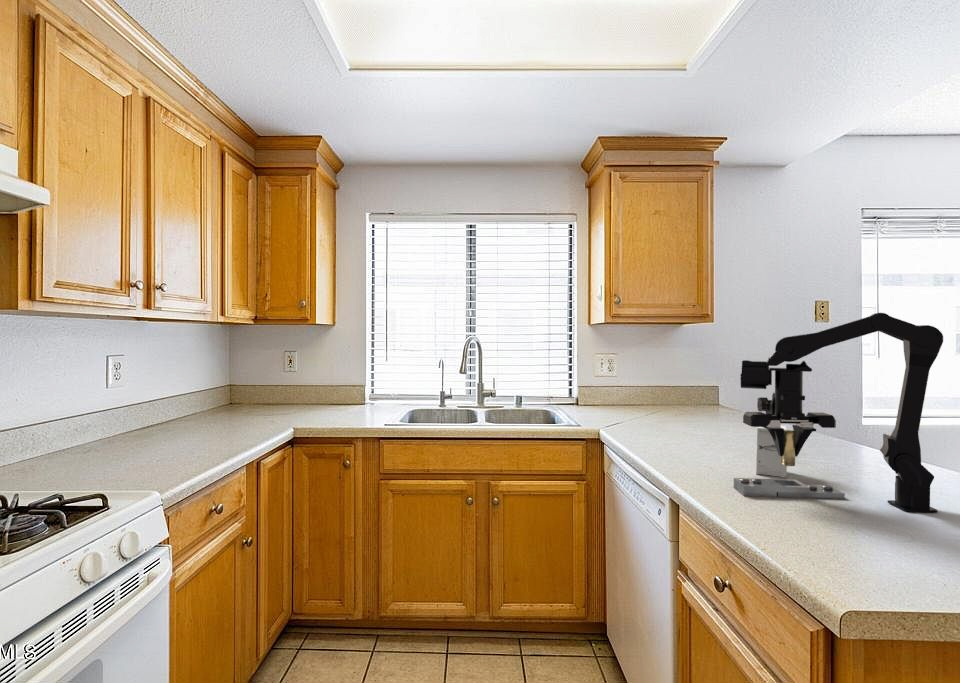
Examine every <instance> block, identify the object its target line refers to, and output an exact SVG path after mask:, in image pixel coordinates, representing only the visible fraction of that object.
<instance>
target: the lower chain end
mask: <svg viewBox="0 0 960 683" xmlns="http://www.w3.org/2000/svg"><path fill="white" fill-rule="evenodd" d="M805 485H806V486H808V487H810V493H799V492H777V497H776V498H794V499H795V498H796V499H797V498H798V499H799V498H800V499H801V498H803V499H831V500H833V499H837V500H845V497H846V496H845V493H844V492H842V491H841V490H839V489H836V488H835V487H834V486H832V485H829V484H805ZM782 486H788V485H782Z"/></svg>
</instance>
